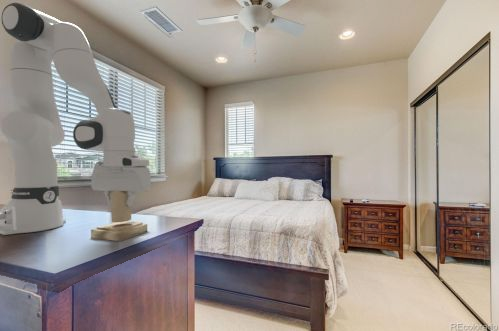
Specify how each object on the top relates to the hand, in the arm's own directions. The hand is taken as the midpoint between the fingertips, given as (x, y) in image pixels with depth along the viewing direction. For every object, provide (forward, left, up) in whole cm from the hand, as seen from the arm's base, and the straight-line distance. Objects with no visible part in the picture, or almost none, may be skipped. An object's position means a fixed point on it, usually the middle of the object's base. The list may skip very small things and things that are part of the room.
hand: (120, 205), depth 77 cm
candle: (0, 0, -5) cm, 5 cm away
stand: (0, 0, -9) cm, 9 cm away
